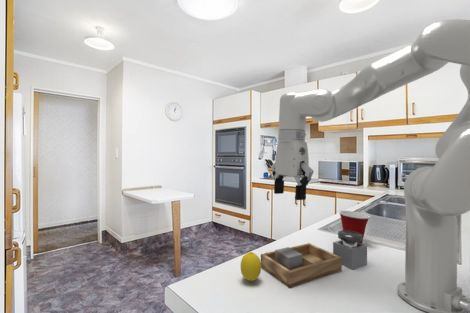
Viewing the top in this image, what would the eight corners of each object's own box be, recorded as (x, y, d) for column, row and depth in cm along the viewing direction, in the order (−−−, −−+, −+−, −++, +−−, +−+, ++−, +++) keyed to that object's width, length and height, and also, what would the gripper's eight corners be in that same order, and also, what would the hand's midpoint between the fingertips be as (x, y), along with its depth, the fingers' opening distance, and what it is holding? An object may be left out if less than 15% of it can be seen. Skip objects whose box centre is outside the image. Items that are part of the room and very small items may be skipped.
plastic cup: (374, 250, 88) (375, 217, 87) (343, 248, 89) (343, 215, 89) (363, 239, 98) (364, 210, 98) (335, 238, 100) (335, 209, 100)
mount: (366, 264, 76) (367, 245, 76) (352, 269, 73) (352, 249, 73) (347, 256, 82) (347, 238, 82) (333, 260, 79) (333, 242, 79)
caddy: (341, 270, 72) (341, 250, 72) (289, 288, 62) (289, 265, 62) (309, 254, 83) (309, 237, 83) (260, 267, 74) (260, 247, 74)
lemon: (248, 274, 70) (248, 246, 69) (264, 280, 66) (265, 251, 66) (236, 282, 65) (236, 252, 65) (253, 289, 62) (253, 258, 62)
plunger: (367, 262, 76) (367, 235, 76) (352, 267, 73) (352, 238, 73) (347, 254, 82) (347, 229, 82) (333, 258, 79) (333, 232, 79)
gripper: (324, 136, 64) (321, 201, 64) (283, 138, 79) (281, 191, 80) (302, 135, 60) (299, 203, 61) (264, 137, 76) (261, 191, 76)
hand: (288, 196), depth 70 cm, fingers open, 9 cm apart
